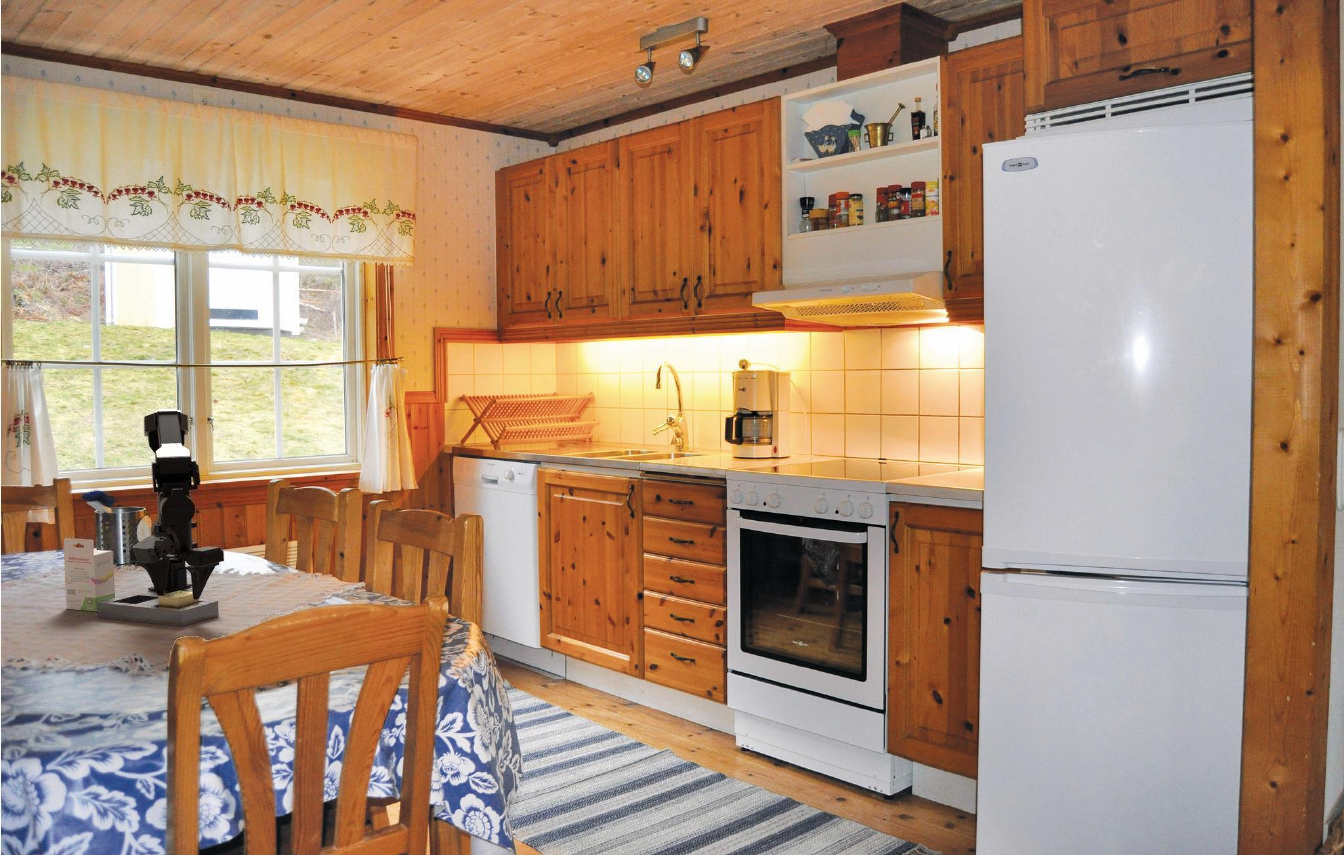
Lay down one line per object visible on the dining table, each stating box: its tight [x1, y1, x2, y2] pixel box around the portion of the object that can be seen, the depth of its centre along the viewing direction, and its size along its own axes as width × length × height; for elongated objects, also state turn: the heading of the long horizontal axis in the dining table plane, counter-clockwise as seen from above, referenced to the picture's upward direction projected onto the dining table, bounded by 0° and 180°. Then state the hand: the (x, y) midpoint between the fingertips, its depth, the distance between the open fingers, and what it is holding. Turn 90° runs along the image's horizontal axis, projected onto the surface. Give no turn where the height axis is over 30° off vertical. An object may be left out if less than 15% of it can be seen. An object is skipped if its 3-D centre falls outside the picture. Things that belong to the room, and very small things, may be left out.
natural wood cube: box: [158, 590, 200, 609], centre depth 198 cm, size 5×5×5 cm
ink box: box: [63, 537, 116, 612], centre depth 208 cm, size 9×5×15 cm, turn 71°
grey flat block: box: [96, 592, 220, 628], centre depth 200 cm, size 22×9×3 cm, turn 69°
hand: (178, 597), depth 198 cm, fingers open, 9 cm apart
